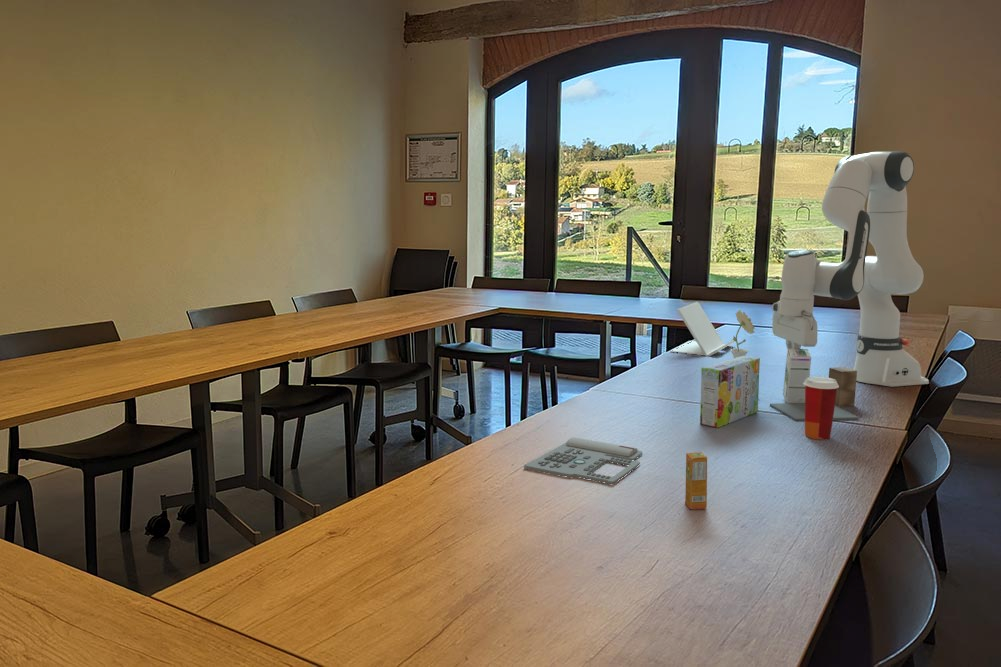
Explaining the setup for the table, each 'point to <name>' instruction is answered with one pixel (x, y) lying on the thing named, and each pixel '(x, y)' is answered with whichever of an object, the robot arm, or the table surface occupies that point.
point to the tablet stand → (699, 332)
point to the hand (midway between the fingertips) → (792, 356)
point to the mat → (798, 411)
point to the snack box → (729, 390)
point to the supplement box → (696, 480)
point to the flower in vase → (748, 327)
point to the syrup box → (796, 375)
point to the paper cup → (819, 406)
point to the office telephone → (585, 459)
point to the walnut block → (844, 385)
